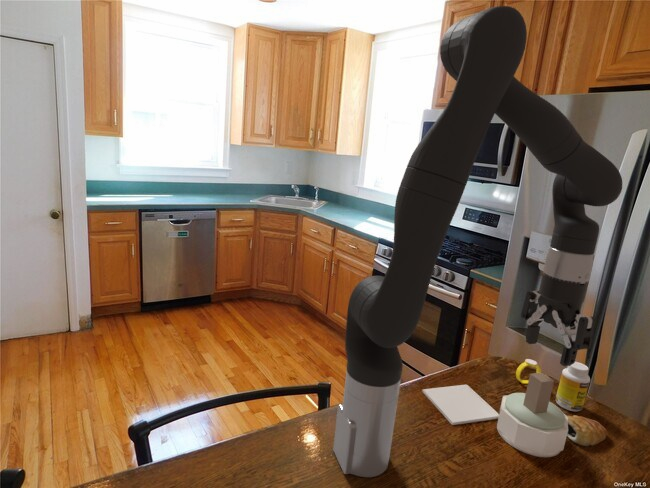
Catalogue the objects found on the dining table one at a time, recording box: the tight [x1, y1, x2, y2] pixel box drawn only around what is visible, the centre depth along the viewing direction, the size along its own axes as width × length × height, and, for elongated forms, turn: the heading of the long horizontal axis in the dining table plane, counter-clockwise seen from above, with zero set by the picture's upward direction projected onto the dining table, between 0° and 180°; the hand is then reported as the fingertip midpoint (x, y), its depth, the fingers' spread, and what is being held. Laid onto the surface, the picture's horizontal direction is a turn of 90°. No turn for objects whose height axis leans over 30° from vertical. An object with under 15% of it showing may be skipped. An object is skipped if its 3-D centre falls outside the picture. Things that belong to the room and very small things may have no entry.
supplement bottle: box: [555, 361, 591, 413], centre depth 98 cm, size 6×6×10 cm
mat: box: [422, 384, 499, 426], centre depth 95 cm, size 12×12×1 cm
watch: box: [515, 358, 542, 385], centre depth 106 cm, size 6×3×6 cm, turn 99°
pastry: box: [566, 414, 608, 447], centre depth 88 cm, size 9×7×4 cm
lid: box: [505, 372, 565, 430], centre depth 84 cm, size 11×11×8 cm
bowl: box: [496, 394, 568, 458], centre depth 86 cm, size 12×12×6 cm
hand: (547, 353), depth 82 cm, fingers open, 8 cm apart
